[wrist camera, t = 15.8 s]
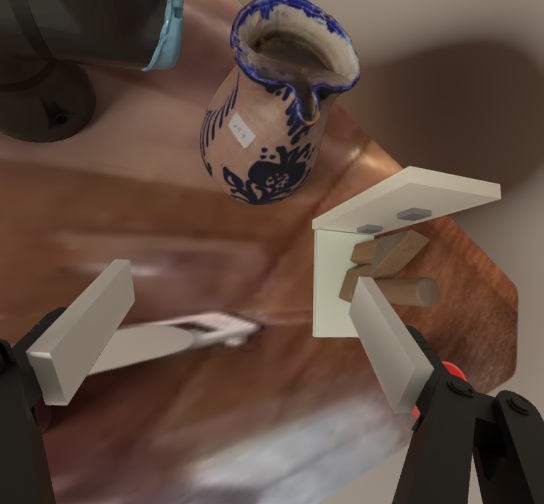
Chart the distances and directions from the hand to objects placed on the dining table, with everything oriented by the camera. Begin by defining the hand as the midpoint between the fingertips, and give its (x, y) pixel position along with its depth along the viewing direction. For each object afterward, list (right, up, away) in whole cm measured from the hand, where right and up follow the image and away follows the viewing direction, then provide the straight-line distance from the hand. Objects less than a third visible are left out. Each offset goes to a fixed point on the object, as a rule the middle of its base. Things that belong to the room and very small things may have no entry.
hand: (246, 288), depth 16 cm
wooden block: (+17, -2, +36) cm, 39 cm away
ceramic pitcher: (-3, +19, +34) cm, 39 cm away
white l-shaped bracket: (+15, -2, +36) cm, 39 cm away
